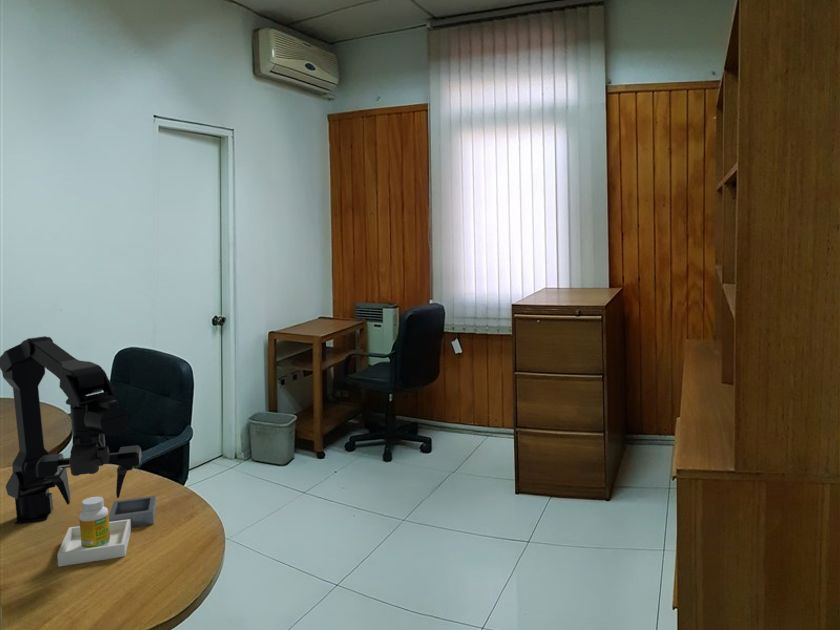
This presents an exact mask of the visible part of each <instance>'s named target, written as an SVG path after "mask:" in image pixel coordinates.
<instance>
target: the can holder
mask: <svg viewBox="0 0 840 630" xmlns="http://www.w3.org/2000/svg"><path fill="white" fill-rule="evenodd" d="M156 511H157V500H156V495H153V496H152V495H150V496H145V497H144V496H143V497H142V496H141V497H135V498H128V499H120V500H113V503H112V506H111V509H110V512H109V514H108V515H109V522H113V521H120V520H127V519H130V521H131V528H136V527H142V526H143V527H144V526H149V525H151V526H152V525H154V524H155V518H156Z"/></svg>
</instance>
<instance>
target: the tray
mask: <svg viewBox="0 0 840 630" xmlns="http://www.w3.org/2000/svg"><path fill="white" fill-rule="evenodd" d="M109 529H110V542H109V544H108V545H106V546H100V547H94V548H87V549H83V548H82V546H81V533H80V525H78V526H71V527H70V526H69V527H68V528H67V532H66V534H65V536H64V538H63V541H62V543H61V545H60V546H59V550H58V552H57V556H56V557H57V565H58V566H57V567H58V568H59V567H65V566H71V565H78V564H84V563H91V562H97V561H105V560H111V559H117V558H124V557H126V554H127V549H128V546H129V541H130V537H131V532H132V527H131V521H130V519H127V520H120V521H113V522H109Z"/></svg>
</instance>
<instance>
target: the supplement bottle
mask: <svg viewBox="0 0 840 630" xmlns="http://www.w3.org/2000/svg"><path fill="white" fill-rule="evenodd" d="M104 504H105V501H104V497H102V496H91V497H88V498H84V499H83V500H82V501H81V508H82V510H81V512H80V513H79V516H78V517H79V518H78V521H79V526H80V533H81V546H82V548H83V549H87V548H94V547H100V546H106V545H108V544H109V542H110V529H109V515H110V514H109V509H108V508H107V507H106V506H104Z"/></svg>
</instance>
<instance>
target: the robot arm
mask: <svg viewBox="0 0 840 630" xmlns="http://www.w3.org/2000/svg"><path fill="white" fill-rule="evenodd" d="M0 370H1V373H2V378H3V379H4V380H5V382H7V383H8V385H9V386H10V387H11V389H12V390H13V391H12V394H13V402H14V410H15V412H14V413H15V420H16V429H17V440H18V449H19V451H18V453H17V455H16V456H15V458H14V460H13V462H12V472H11V475H10V477H9V479H8V481H7V482H6V485H5V489H6V493H7V496H9V497H11V498H13V499H14V503H15V513H16V519H15V520H14V524H15V525H17V524H23V523H24V524H25V523H31V522H37V521H45V520H48V518H49V516H50V514H52V512H53V510H54V505H53V504H54V503H53V502H54V501H53V500H54V499H53V493H52V492H50V489H53V488H57V489H58V490H59V492H60V494H61V496H62V498H63V500H64V502H65V503H66V505H70V504H71V491H70V484H69V479H68V471H67V469H70V473H71V475H72V476H73V477H77V476H80V475H95V474H96V473H98V472H99V470H100V467H101V466H104V465H109V464H111V463H117V465H118V466H117V469H116V474H117V476H116V487H115V489H116V491H115V495H116V499H119V498H120V496H121V492H122V489H123V488H122V487H123V484H124V481H125V477H126V475H127V473H128V472H129V471H132V470H133V469H134V467H138V466H140V463H141V461H142V457H143V456H142V449H141V448H142V447H140V445H138V444H137V445H126V446H120V447H119V450H118V452H110V449H109V446H108V445H106V440H105V436H109V437H117V436H119V435H122V433H124V432H125V430H126V429H127V427H128V425H129V420H130V416H129V414H128V412H127V411H126V410H125V409H124V408H123V407H121V406H119V403H118V400H116V398H117V394H116V393H115V391H116V388H115V386H114V385H113V384H112V382H111V380H110V378H109V377H108V375H107V373H106V371H105V370H104V368H102V367H101V365H99V364H97V363H95V362H92V361H88V360H87V361H86V360H80V359H77V358H76V357H74V356H72V354H70V353H68V352H67V351H66V350H65V349H63V348H62V347H60V346H59V345H58V344H56V343H55V342H54V340H53V338H52V337H50V336H46V335H43V336H37V337H29V338H26V339H25V340H23V341H22V342H20V343H19V344H18V345H15V346H13V347H11V348H9V349H6V350H5V351H4V352H3V353H2V355H0ZM46 370H47V371H49V372H51V373H52V374H53V375H54V376H55V377H56V378H58V380H59V388H60V389H61V391H62V392H63V394H64V395H65V396H66V397H67V399H66V400H65V404H66V405H69V408H70V418H71V419H70V420H71V433H72V446H71V449H70V456H69V457H65V458H64V454H63V453H54V454H53V453H52V454H50V452H49V451H48V450H47V449H46V447H45V442H44V433H43V431H44V430H43V423H42V422H43V421H42V412H41V411H42V410H41V402H40V393H39V392H40V391H39V386H40V383H41V382H42V380H43V378H44V377H45V375H46Z"/></svg>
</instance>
